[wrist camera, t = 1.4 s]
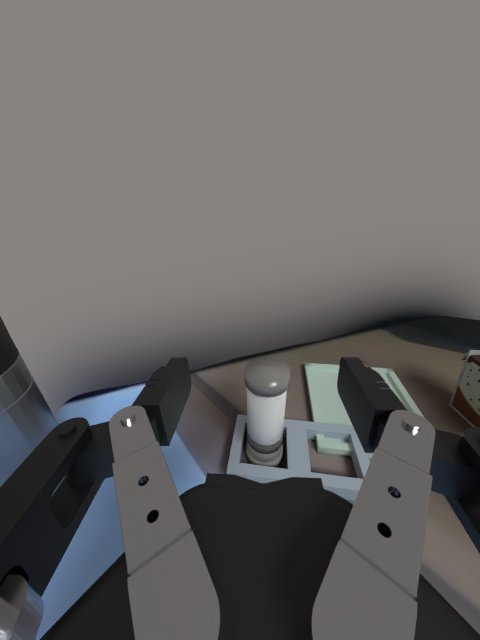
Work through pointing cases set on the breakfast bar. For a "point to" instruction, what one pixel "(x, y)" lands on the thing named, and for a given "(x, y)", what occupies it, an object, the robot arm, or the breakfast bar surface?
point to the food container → (468, 389)
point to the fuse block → (301, 456)
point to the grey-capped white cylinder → (266, 410)
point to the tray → (331, 408)
